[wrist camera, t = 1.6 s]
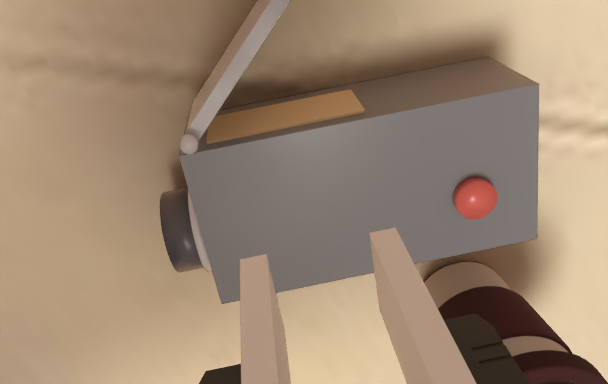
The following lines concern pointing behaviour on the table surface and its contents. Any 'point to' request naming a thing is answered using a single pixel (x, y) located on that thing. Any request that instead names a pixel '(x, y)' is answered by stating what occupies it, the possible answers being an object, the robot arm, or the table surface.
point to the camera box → (359, 176)
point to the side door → (233, 63)
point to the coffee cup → (509, 323)
